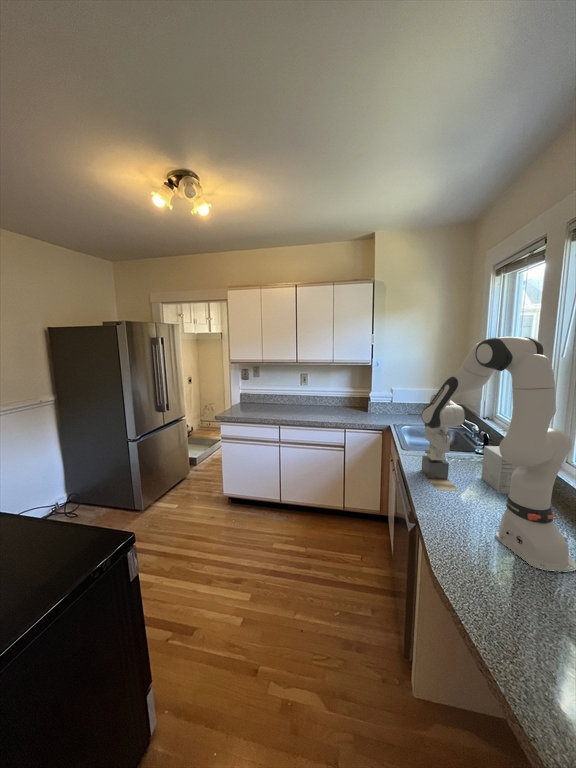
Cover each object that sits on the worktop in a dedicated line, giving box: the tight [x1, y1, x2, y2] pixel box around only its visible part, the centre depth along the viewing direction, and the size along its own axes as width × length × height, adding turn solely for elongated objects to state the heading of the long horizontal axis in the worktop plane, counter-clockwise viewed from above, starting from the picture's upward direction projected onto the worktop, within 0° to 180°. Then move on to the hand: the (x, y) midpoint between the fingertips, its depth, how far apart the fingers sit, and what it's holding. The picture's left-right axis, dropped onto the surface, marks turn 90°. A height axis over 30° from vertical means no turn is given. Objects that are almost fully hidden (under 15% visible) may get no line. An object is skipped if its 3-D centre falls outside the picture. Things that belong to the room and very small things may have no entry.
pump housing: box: [424, 445, 446, 460], centre depth 151 cm, size 6×8×5 cm
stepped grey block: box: [420, 455, 450, 480], centre depth 152 cm, size 9×9×11 cm
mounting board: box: [420, 470, 460, 492], centre depth 148 cm, size 21×10×2 cm, turn 177°
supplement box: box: [481, 445, 518, 495], centre depth 142 cm, size 13×13×18 cm
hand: (435, 454), depth 151 cm, fingers closed on pump housing, 6 cm apart
